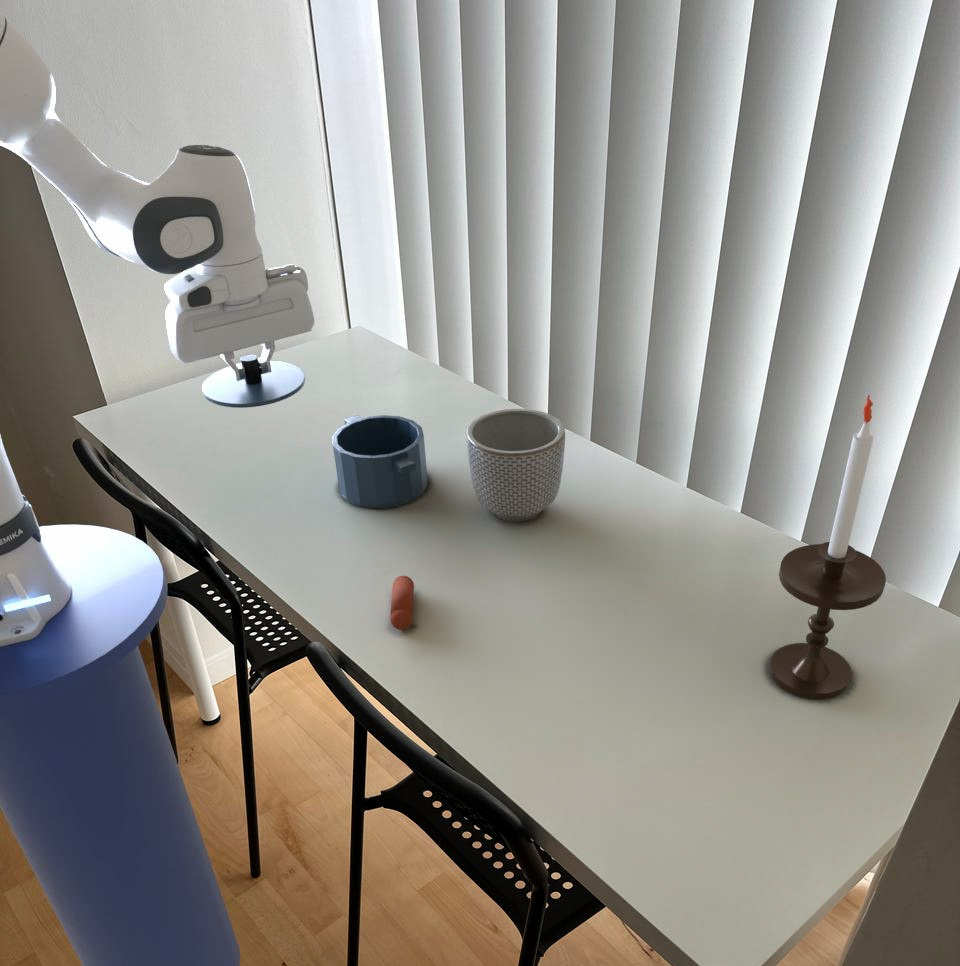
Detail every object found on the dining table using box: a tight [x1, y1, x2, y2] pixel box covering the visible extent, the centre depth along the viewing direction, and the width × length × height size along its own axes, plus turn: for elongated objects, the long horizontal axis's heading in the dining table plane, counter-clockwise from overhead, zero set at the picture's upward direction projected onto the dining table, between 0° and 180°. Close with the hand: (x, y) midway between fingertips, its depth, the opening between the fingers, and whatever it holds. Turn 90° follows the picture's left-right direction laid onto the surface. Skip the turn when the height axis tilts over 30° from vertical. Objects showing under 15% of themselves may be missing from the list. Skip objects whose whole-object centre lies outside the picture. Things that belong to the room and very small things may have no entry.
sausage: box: [389, 575, 415, 631], centre depth 126 cm, size 10×3×3 cm, turn 2°
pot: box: [331, 414, 429, 509], centre depth 149 cm, size 14×19×8 cm
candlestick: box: [768, 394, 887, 701], centre depth 103 cm, size 11×11×35 cm
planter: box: [465, 408, 566, 523], centre depth 141 cm, size 14×14×13 cm
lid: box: [201, 354, 306, 409], centre depth 140 cm, size 15×15×5 cm
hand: (252, 375), depth 140 cm, fingers closed on lid, 2 cm apart
